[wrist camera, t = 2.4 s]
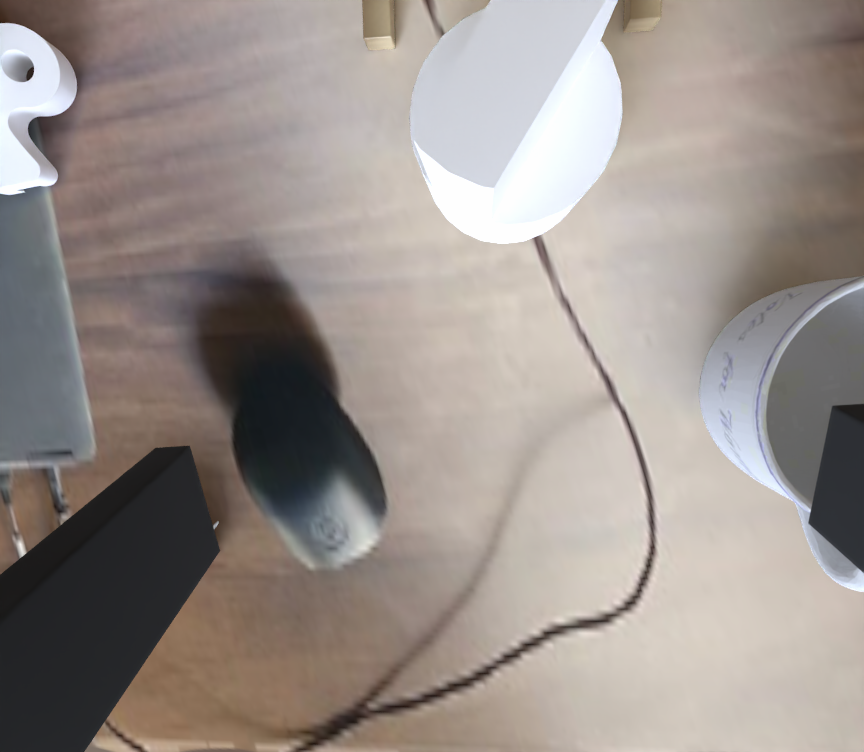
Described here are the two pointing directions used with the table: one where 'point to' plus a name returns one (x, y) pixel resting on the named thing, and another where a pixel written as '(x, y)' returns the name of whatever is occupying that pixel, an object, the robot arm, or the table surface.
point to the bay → (380, 21)
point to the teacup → (788, 393)
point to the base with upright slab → (517, 115)
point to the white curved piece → (29, 104)
